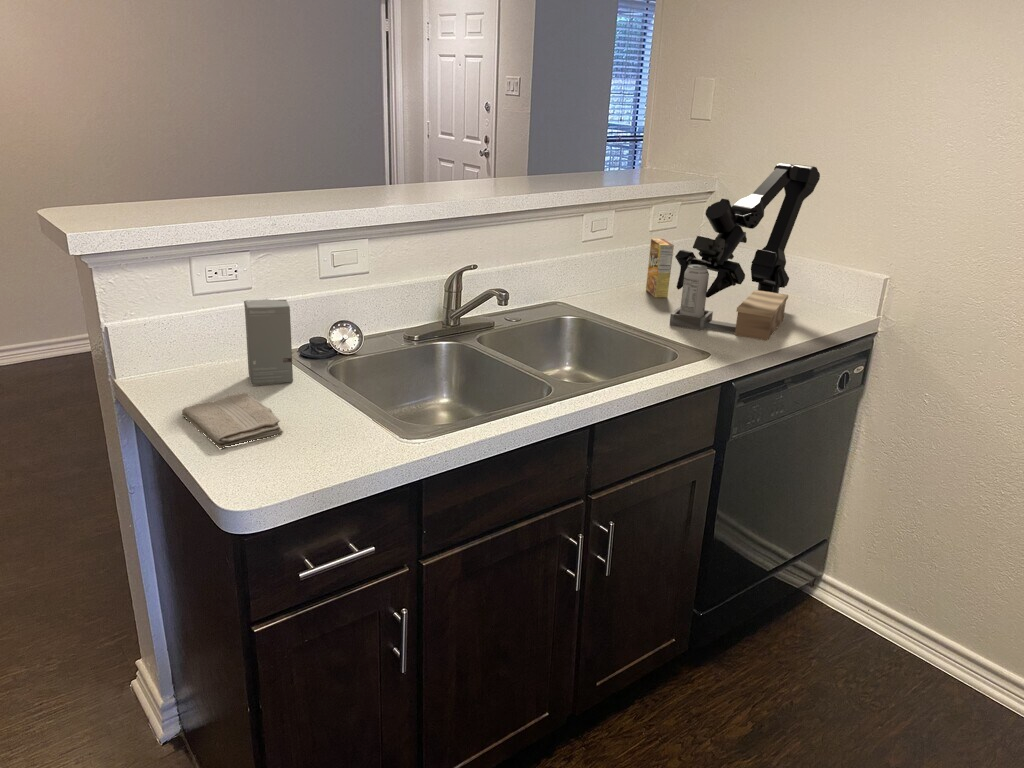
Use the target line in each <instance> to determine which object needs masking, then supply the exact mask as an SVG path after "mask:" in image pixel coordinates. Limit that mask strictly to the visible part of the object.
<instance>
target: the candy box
mask: <svg viewBox="0 0 1024 768" xmlns="http://www.w3.org/2000/svg"><path fill="white" fill-rule="evenodd" d="M674 246H675V245H674V244H672V243H671V242H670V241H667V240H666V239H664V238H651V239H650V247H649V255H648V256H649V258H648V266H647V272H646V274H647V275H646V283H645V290H646V291H647V292H648V293H649V294H651V296H653V297H654V298H655V299H657V298H668V295H669V287H670V280H671V273H672V272H671V270H672V264H673V256H674Z"/></svg>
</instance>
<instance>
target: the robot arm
mask: <svg viewBox="0 0 1024 768" xmlns="http://www.w3.org/2000/svg"><path fill="white" fill-rule="evenodd" d="M820 178H821V174H820V172H819V170H818V168H817V166H814V165H813V166H812V165H804V164H796V163H795V164H791V163H784V162H782V163H781V162H780V163H777V164H776V165H775V167H774V169H773V171H772V172H771V173H770V174H769V175H768V176H767V177H766V178H765V179H764V180H763V181H762V182H761V184H760V185H759V186H758V187H756V189H755V190H754V191H753V192H752V193H751V194H750V195H748V196H746V197H743V198H740V199H739V200H738V201H737V202H735V203H734V204H733V205H731V202H730V200H729V199H727V198H721V199H720V201H716V202H714V203H712V204H711V205H709V206H707V208H706V210H705V216H706V218H707V220H708V222H709V223H710V226H711V227H712V229H713V231H714V232H715V233H716V234H717V236H716V237H715V238H714V239H713V238H710V237H706V236H702V235H696V238H695V241H694V243H693V245H692V248H693V250H697V251H698V256H699V257H701V259H700V258H697V257H696V255H695V254H694V251H689V250H686V249H685V250H684V249H680V250H678V252H677V253H676V254H675V260H676V261H677V263H678V264H679V266H680V269H679V275H678V278H677V283H676V289H677V290H681V288H682V289H683V282H684V273H685V271H686V269H687V268H688V265H691V264H698V265H704V266H707V270H708V271H712V272H717V275H716V278H715V279H714V280H713V282H712V284H711V285H710V287H708V288H707V293H706V295H705V296H706V299H707V298H710V297H712V296H714V295H716V294H717V293H719V292H721V291H724V290H726V289H727V288H730V287H735V286H736V285H742V283H744V280H745V278H746V274H745V272H744V270H743V268H742V266H741V264H740V262H736V261H732V260H733V259H734V257H735V256H734V254H733V253H734V251H735V250H736V249H737V247H738V246H739V245H740V243H743V244H746V243H747V239H748V238H747V232H746V231H744V229H743V228H746V229H750V230H751V229H752V230H753V229H755V228H756V227H757V226H758V225H759V224H760V222H761V221H762V219H763V218H764V216H765V209H766V207H767V206H768V205H769V204H770V203H771V202H772V201H774V199H775V198H776V196H778V195H779V193H780V192H782V190H783V189H784V193H785V195H784V198H783V200H782V203H781V206H780V209H779V210H778V211H779V212H778V214H777V216H776V219H775V222H774V224H773V226H772V230H771V233H770V235H769V238H768V241H767V243H766V245H765V246H764V247H763V248H762V249H759V248H758V249H756V251H755V253H754V257H753V259H752V261H751V265H750V275H751V282H752V283H753V282H754V283H757V285H758V286H757V290H759V291H766V292H773V293H779V294H780V289H781V288H786V287H787V286H788V284H789V281H790V277H789V275H788V273H787V271H786V269H785V268H786V264H787V259H786V254H785V249H786V247H787V244H788V242H789V239H790V237H791V233H792V232H793V229H794V226H795V223H796V222H797V218H798V216H799V214H800V210H801V208H802V205H803V202H804V201H805V200H806V199H807V198H808V197H809V196H810V195H812V194H813V193H814V191H815V188H816V187H817V184H818V183H819V182H820Z"/></svg>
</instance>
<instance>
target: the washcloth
mask: <svg viewBox="0 0 1024 768" xmlns="http://www.w3.org/2000/svg"><path fill="white" fill-rule="evenodd" d="M182 415H183V418H184V417H185V418H184V419H186V418H187V420H186V421H188V420H189V421H190V422H191V423H192V424H193V425H192V424H191V423H190V422H189V421H188V422H189V423H190V424H191V425H192V426H193V427H194V426H195V427H196V428H197V429H196V428H195V427H194V428H195V429H196V430H197V431H198V430H199V431H198V432H200V433H201V432H202V433H204V434H205V435H206V436H207V437H208V438H209V439H211V440H212V441H213V442H214V443H215V444H213V446H215V445H217V446H218V447H219V448H223V447H225V446H231V445H235V444H239V443H244V442H247V441H248V442H249V441H251V440H252V441H253V440H257V439H262V440H264V439H263V438H266V439H268V438H267V437H270V438H272V437H271V436H274V435H277V434H278V435H277V436H280V435H282V434H283V432H284V431H283V429H282V428H281V426H280V424H279V422H281V420H280V419H279V418H278V417H277V416H276V415H275V413H274V412H273V411H272V409H271V408H270V407H269V408H268V407H267V406H265V405H264V404H262V403H261V402H260V401H258V399H256V398H253V397H252V396H251V395H249V394H248V393H246V392H243V393H238V394H232V395H230V396H229V395H228V396H225V397H224V398H221V399H217V400H214V401H207V402H201V403H199V404H198V403H197V404H194V405H190V406H186V407H183V409H182V411H181V416H182ZM202 433H201V434H202ZM204 434H203V435H204ZM279 434H280V435H279ZM205 435H204V436H205ZM206 436H205V437H206ZM207 437H206V438H207ZM274 437H275V436H274ZM208 438H207V439H208ZM209 439H208V440H209ZM223 449H224V448H223Z"/></svg>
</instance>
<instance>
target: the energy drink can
mask: <svg viewBox="0 0 1024 768" xmlns="http://www.w3.org/2000/svg"><path fill="white" fill-rule="evenodd" d="M709 277H710V273H709V270H708V269H707V266H704V265H698V264H691V265H688V268H687V269H686V271H685V273H684V282H683V287H682V293H681V299H680V300H681V301H680V306H681V308H680V315H686V316H692V317H698V318H702V317H704V310H706V301H707V297H706V296H705V295H706V293H707V291H708V286H709V280H710V279H709Z"/></svg>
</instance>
